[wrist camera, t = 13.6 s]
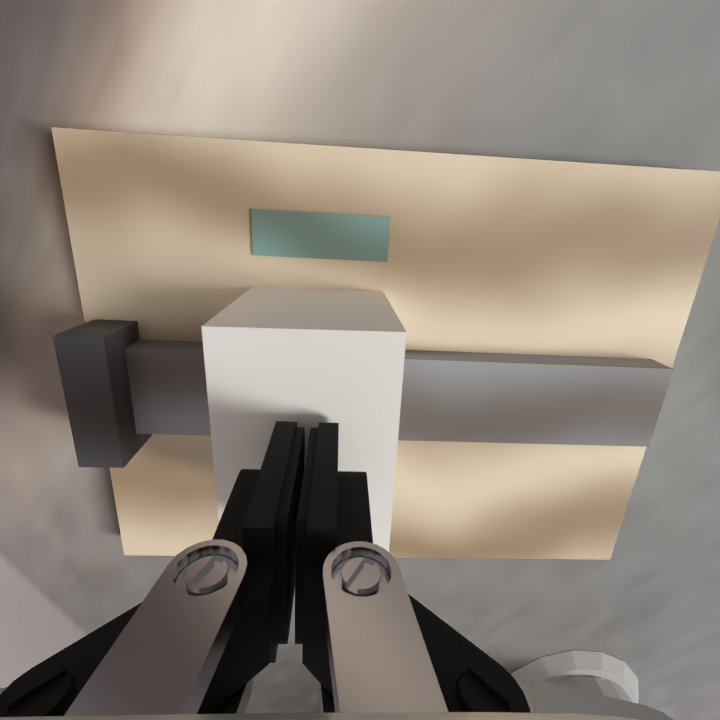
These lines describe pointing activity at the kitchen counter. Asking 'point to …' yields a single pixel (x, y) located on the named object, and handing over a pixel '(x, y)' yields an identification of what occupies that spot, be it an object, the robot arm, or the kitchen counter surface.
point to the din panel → (412, 306)
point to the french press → (584, 673)
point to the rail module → (307, 383)
